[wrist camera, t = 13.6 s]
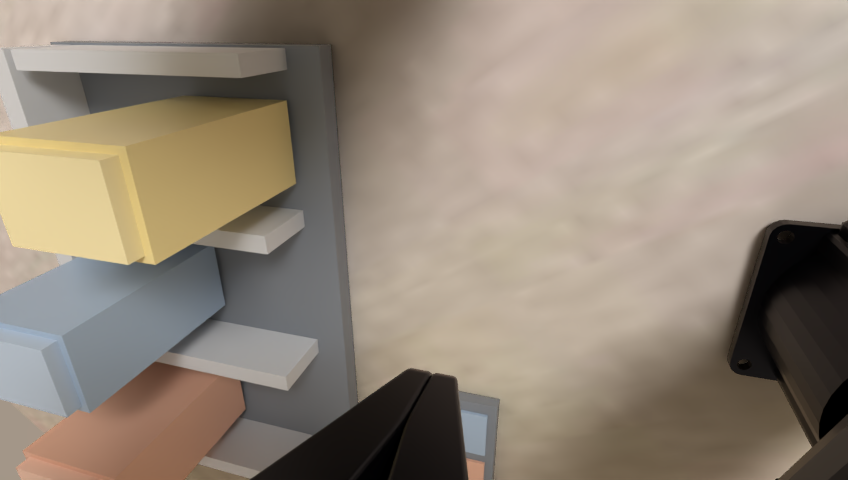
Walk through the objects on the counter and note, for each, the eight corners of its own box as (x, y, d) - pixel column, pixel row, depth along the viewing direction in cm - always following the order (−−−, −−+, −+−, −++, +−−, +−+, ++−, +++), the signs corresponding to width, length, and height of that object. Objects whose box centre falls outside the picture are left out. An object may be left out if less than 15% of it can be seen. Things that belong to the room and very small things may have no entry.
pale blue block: (225, 304, 26) (75, 424, 18) (147, 290, 27) (-23, 397, 19) (213, 243, 24) (45, 345, 17) (131, 232, 26) (-59, 322, 18)
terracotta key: (245, 408, 29) (123, 549, 21) (174, 391, 30) (35, 518, 22) (235, 359, 27) (101, 491, 20) (161, 343, 28) (8, 461, 21)
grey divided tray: (361, 443, 29) (329, 502, 25) (168, 396, 32) (118, 442, 29) (331, 44, 20) (276, 50, 16) (70, 41, 23) (-20, 45, 20)
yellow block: (296, 183, 21) (139, 274, 14) (199, 174, 23) (8, 252, 15) (286, 100, 20) (106, 151, 12) (183, 95, 21) (-36, 139, 14)
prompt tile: (492, 497, 27) (489, 509, 27) (431, 482, 28) (427, 493, 28) (499, 399, 25) (497, 409, 24) (431, 385, 25) (427, 395, 25)
